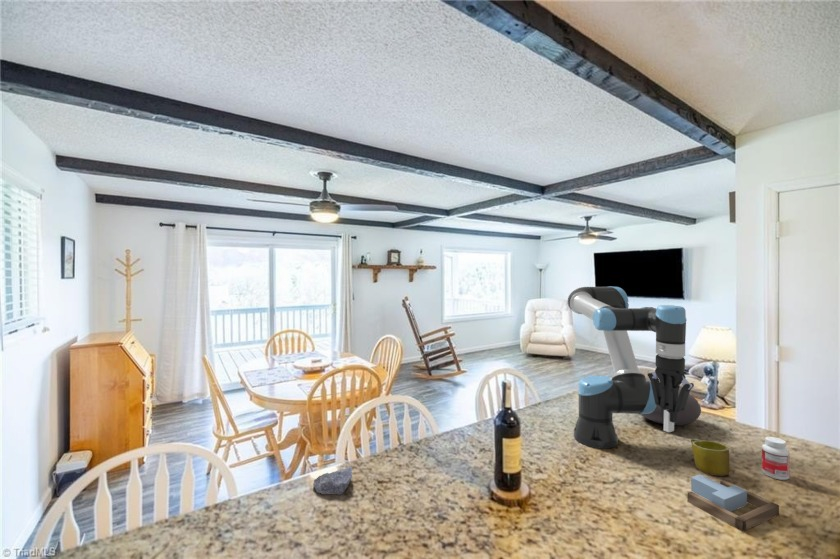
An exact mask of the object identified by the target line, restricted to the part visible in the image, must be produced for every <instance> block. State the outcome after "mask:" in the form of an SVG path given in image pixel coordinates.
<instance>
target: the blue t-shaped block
mask: <svg viewBox="0 0 840 559" xmlns="http://www.w3.org/2000/svg"><path fill="white" fill-rule="evenodd" d="M690 481H691V482H690V483H691V485H690V492H693V493H695V494H697V495H699V496H701V497H703V498H705V499H707V500H709V501H711V502H712V503H714V504H716V505H718V506H720V507H722V508H724V509H726V510H728V511H730V512H732V513H733V511H735V510H738V508H739V509H741V508H743V506H744V507H746V506H747V505H748V503H747V491H748V490H747V489H744V488H742V487H740V486H738V485H735V484H734V485H732V486H730V487H726V486H724V485H722V484H720V482H717V481H715V480H713V479H710V478H708V477H707V476H705V475H702V474H697V475H694V476H691V478H690Z"/></svg>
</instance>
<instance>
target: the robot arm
mask: <svg viewBox="0 0 840 559" xmlns="http://www.w3.org/2000/svg"><path fill="white" fill-rule="evenodd" d="M567 306H568V307H569V309H570V310H571V312H574V313H576V314H578V315H584V316H586V317H587V318H589V319H591V320H592V321H593V322H592V323H593V325H594V326H593V327H595V329H596V330H598V331H603V334H604V337H605V341H606V345H607V350H608V354H609V358H610V361H611V365H612V369H613V373H614V374H613V376H611V377H609V376H605V375H589V376H586V377H583V378H581V379H580V380H579V382H578V390H577V393H578V417H577V420H576V423H575V426H574V429H573V437H574V440H576V441H577V442H578V443H580V444H583V445H586V446H587V447H590V448H591V447H592V448H597V449H613V448H615V447H617V446H618V444H619V436H618V434H617V433H616V430H615V426H614V422H613V414H632V415H640V414H649V413H652V412H653V411H654V410H655V408H656V405H659V406H660V407H661V409H662V411H661V413H662V414H661V417H662V418H663V419H664V424H663V431H664V432H666V433H671V432H674V431H675V425H674V422H676V421H677V412H681V411H684V409H685V406H686V402H687V399H688V396H689V394H690V392H691V390H692V389H693V388H694V387H695V384H694V383H693V382H689V381H688V379H686V375H685V371H686V370H685V369H686V358H685V356H686V334H687V315H686V309H685V307H683V306H681V305H673V304H670V305H669V304H661V305H657V307H652V306H651V307H650V306H643V307H639V308H637V307H635V308H632V307H631V308H629V307H630V306H629V296H628V295H627V293H626V291H625V290H624V289H623V288H621V287H619V286H610V285H609V286H583V287H579V288H578V287H577V288H576V289H574V290H573V291H571V292H570V294H569V295H568V297H567ZM631 331H632V332H635V331H636V332H639V331H640V332H646V331H647V332H649V331H650V332H654V333H655V354H656V355H655V369H654V371H653V372H648V373H647V377H648V380H647V379H646V376H645V374H644V373H643V372H641V371H640V370H639V367H638V364H637V360H636V357H635V354H634V350H633V347H632V343H631V339H630V336H629V334H628V332H631ZM649 380H650V381H649ZM680 385H681V390H680V394H679V397H678V390H679V389H680ZM668 408H669V409H668Z"/></svg>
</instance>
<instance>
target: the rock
mask: <svg viewBox="0 0 840 559" xmlns="http://www.w3.org/2000/svg"><path fill="white" fill-rule="evenodd" d="M352 477H353V466H352V465H350V466H346V467H345V468H342V469H338V470H336V471H333V472H330V473H328V472H326V473H323V474H321V475H319V476H317V477H316V478H315V479H313V487H314V488H315V491H316V493H318V494H320V493H321V494H322V495H326V494H327V495H333V494H335V495H339V496H341V495H343V494H344V493H345V491H346V489H347V488H348V487H349V484H350V482H351V481H352ZM321 494H320V495H321ZM340 494H341V495H340Z"/></svg>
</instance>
